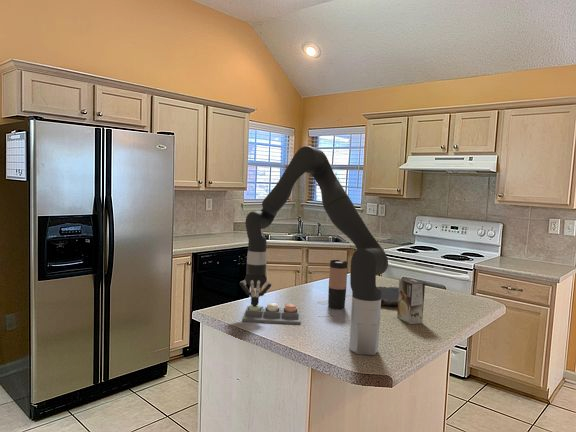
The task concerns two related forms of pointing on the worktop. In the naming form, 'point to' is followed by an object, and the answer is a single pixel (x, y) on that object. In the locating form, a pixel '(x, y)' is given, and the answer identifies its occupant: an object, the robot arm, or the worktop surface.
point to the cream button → (272, 307)
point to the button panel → (272, 316)
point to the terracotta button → (290, 308)
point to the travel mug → (337, 284)
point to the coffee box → (411, 301)
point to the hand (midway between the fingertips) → (254, 306)
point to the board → (389, 296)
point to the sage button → (254, 308)
